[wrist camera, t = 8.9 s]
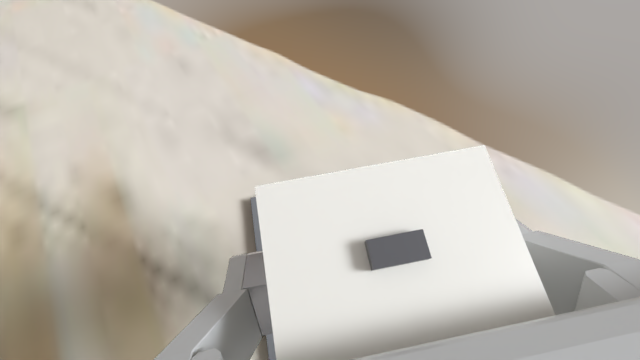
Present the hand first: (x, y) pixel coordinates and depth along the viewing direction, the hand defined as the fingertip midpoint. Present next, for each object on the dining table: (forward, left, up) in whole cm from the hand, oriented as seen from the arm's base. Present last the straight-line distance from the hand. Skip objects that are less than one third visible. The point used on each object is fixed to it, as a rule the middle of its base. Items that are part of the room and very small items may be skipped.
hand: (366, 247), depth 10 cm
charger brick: (0, +1, -6) cm, 6 cm away
